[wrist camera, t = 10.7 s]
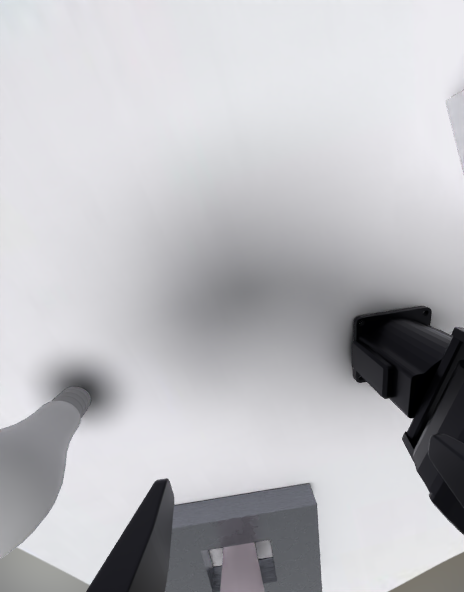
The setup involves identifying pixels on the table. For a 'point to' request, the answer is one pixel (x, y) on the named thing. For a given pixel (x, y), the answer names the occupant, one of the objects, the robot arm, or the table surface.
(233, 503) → the square plate with hole
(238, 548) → the smoothie
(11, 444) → the lightbulb
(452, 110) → the white block
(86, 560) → the table surface
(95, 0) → the table surface
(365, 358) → the robot arm
